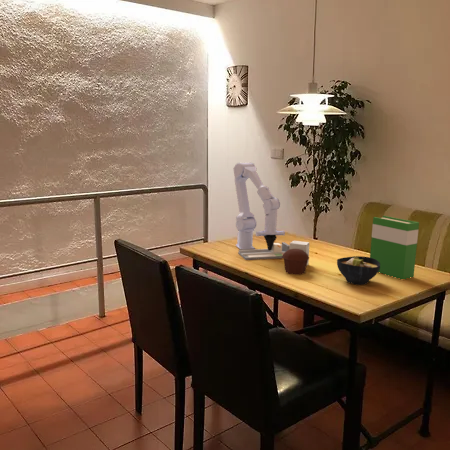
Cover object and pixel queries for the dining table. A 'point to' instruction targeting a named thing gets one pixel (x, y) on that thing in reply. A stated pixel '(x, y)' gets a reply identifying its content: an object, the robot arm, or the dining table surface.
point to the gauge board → (263, 253)
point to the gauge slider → (276, 247)
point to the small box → (300, 247)
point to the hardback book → (394, 246)
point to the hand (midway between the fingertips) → (269, 249)
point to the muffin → (295, 261)
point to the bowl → (358, 269)
